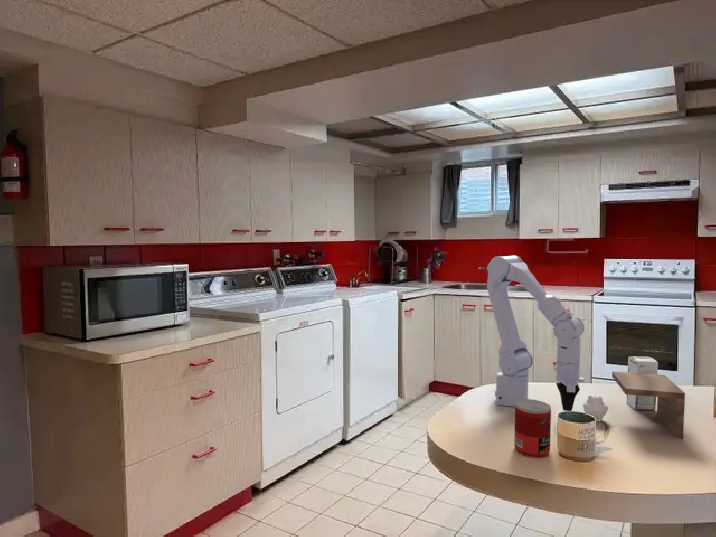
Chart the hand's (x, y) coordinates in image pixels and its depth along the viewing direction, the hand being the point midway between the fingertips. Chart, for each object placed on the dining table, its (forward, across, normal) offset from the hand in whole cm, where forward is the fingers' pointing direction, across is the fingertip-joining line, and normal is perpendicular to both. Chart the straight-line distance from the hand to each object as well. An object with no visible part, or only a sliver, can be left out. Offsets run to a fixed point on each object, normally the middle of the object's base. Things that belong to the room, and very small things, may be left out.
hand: (567, 410), depth 136 cm
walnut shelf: (+2, 0, -19) cm, 19 cm away
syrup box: (+2, +14, -22) cm, 26 cm away
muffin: (+2, 0, -7) cm, 7 cm away
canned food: (+2, -25, +10) cm, 27 cm away
